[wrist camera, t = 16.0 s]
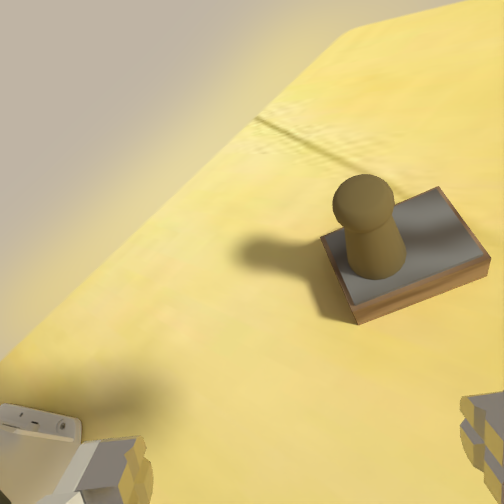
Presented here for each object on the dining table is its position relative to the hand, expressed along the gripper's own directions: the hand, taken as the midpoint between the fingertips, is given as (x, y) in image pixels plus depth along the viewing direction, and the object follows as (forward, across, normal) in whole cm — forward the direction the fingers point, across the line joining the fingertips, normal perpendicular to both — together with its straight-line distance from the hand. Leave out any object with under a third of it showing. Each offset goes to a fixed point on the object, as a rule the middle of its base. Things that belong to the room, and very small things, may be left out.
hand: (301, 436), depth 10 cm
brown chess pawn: (+32, -11, +6) cm, 34 cm away
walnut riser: (+34, -14, +9) cm, 38 cm away
